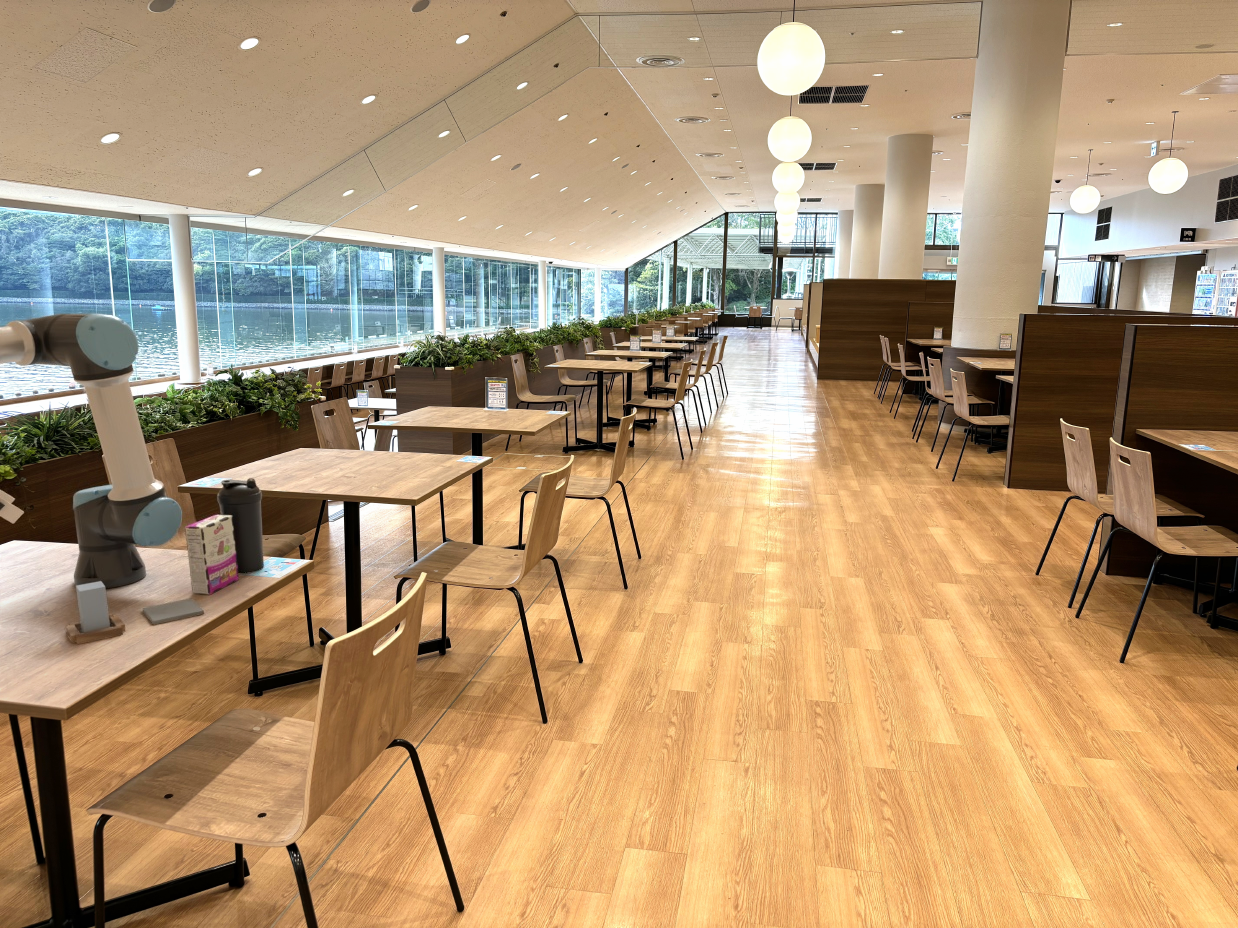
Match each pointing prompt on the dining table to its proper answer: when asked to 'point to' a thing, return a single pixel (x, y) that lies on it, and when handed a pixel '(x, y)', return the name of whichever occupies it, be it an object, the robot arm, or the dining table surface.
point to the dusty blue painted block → (92, 606)
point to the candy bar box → (212, 554)
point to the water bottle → (244, 521)
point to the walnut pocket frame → (95, 635)
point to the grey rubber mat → (172, 611)
